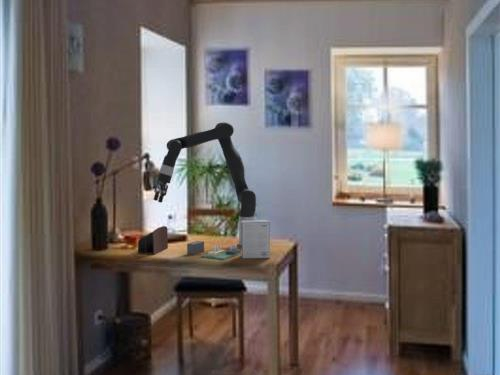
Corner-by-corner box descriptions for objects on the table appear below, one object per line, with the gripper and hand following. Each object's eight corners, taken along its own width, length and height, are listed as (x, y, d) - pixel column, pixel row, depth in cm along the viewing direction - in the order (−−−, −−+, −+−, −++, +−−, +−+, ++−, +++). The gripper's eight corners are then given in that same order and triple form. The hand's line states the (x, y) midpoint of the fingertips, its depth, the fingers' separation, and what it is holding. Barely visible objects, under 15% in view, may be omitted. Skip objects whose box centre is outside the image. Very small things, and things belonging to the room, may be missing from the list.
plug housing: (197, 251, 379) (197, 240, 378) (204, 251, 376) (204, 241, 376) (187, 254, 370) (187, 243, 369) (194, 255, 368) (194, 244, 367)
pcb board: (219, 251, 378) (219, 241, 378) (240, 253, 371) (240, 244, 371) (202, 257, 363) (202, 247, 362) (223, 259, 356) (223, 249, 355)
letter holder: (168, 248, 386) (167, 224, 385) (154, 255, 367) (153, 230, 366) (152, 247, 389) (152, 223, 387) (137, 254, 370) (137, 229, 368)
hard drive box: (269, 255, 368) (269, 220, 365) (270, 258, 360) (270, 222, 358) (241, 255, 367) (241, 220, 365) (241, 258, 359) (241, 222, 357)
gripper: (175, 176, 370) (167, 204, 369) (167, 174, 382) (159, 201, 382) (163, 173, 366) (155, 201, 366) (155, 170, 379) (147, 198, 379)
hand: (157, 201), depth 374 cm, fingers open, 8 cm apart
